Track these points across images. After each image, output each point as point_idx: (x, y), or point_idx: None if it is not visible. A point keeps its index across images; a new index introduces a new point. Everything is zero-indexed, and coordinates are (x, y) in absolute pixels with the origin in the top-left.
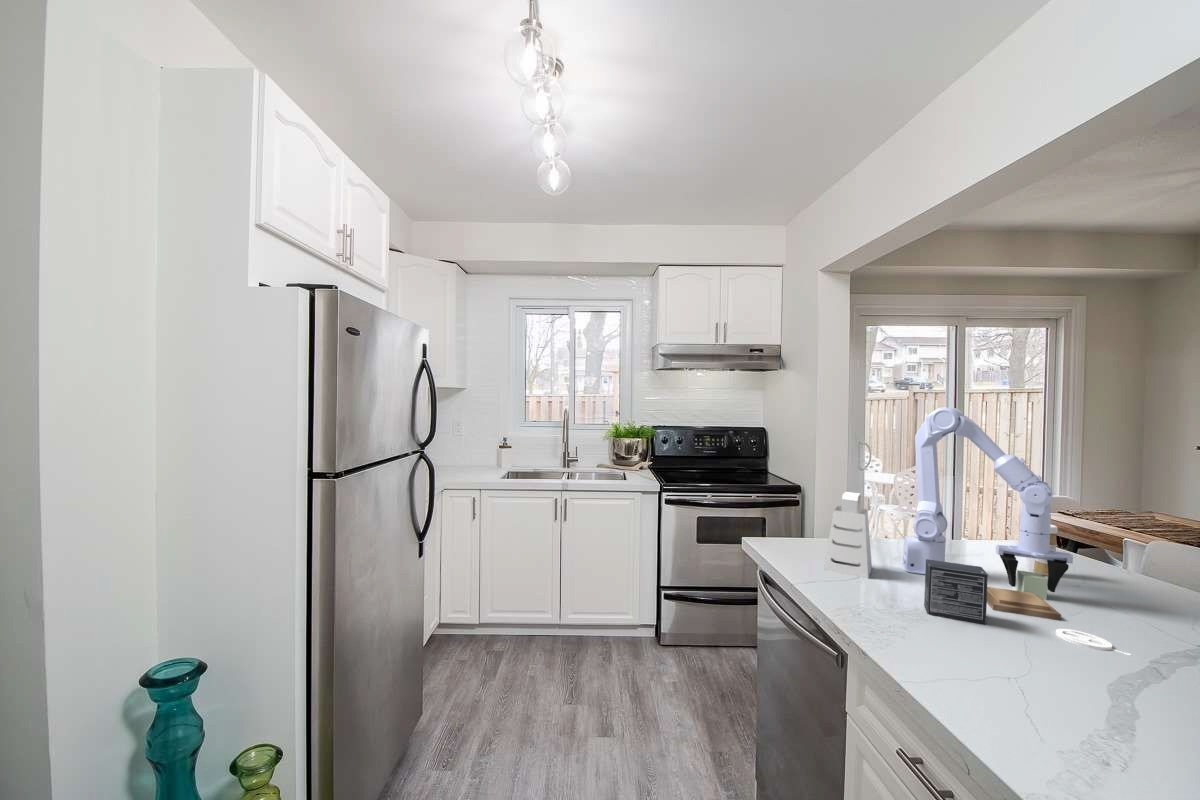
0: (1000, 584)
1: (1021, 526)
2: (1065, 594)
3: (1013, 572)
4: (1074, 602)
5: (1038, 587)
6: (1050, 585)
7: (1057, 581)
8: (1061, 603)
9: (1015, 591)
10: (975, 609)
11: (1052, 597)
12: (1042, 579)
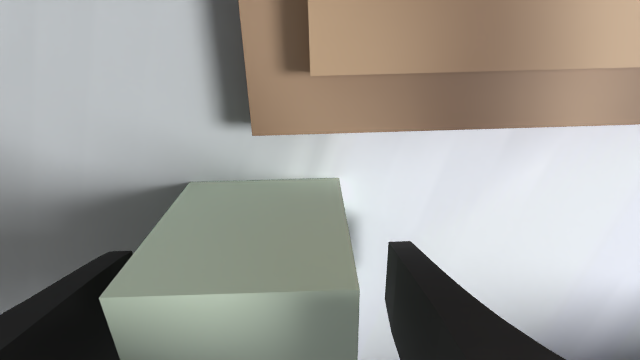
0: (397, 357)
1: None
2: None
3: (475, 323)
4: (12, 222)
5: (225, 226)
6: None
7: (10, 315)
8: (98, 148)
9: (482, 34)
10: None
11: None
12: (162, 284)
